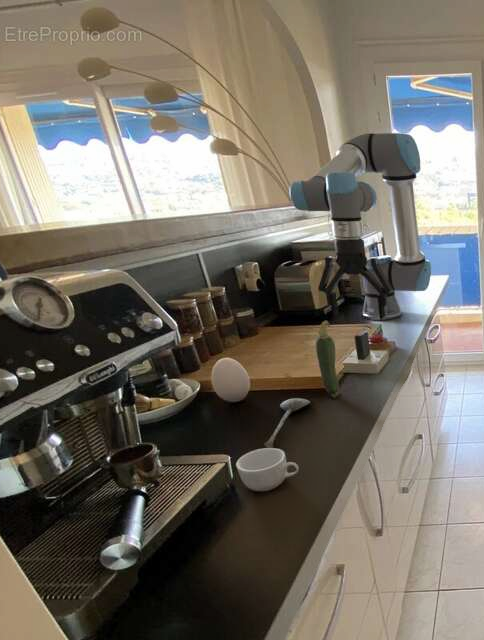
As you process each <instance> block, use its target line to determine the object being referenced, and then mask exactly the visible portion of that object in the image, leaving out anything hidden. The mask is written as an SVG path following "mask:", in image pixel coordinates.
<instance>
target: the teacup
mask: <svg viewBox="0 0 484 640" xmlns="http://www.w3.org/2000/svg"><path fill="white" fill-rule="evenodd" d="M235 466H236V470H237V473H238V474H239V477H240V480H241V481H242V483H243V484H244V486H245V487H246V488H247V489H249V490H251V491H255V492H268V491H270V490H271V491H272V490H274V489H276V488H277V487H279V486H280V485H281V484H282V483H283V482H284V480H285V479H287V478H290V477H293V476H295V475H296V474H298V473H299V471H300V468H299V465H298V464H297V463H296V462H293V461H288V462H287V457H286V453H285V451H284V450H283V449H281V448H276V447H273V448H267V447H265V448H258V449H254V450H251V451H248V452H247V453H244V454H243V455H242V456H241V457H239V458H238V460H237V461H236V463H235ZM290 466H293V467H294V468H295V471H293V472H288V468H289V467H290Z"/></svg>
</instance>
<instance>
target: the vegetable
mask: <svg viewBox="0 0 484 640" xmlns="http://www.w3.org/2000/svg"><path fill="white" fill-rule="evenodd" d="M327 326H328V327H330V323H329V321H328V320H324V321H323V322H321V323H320V326H319V329H318V330H319V331H318V338H317V339H316V342H315V351H316V356H317V361H318V367H319V371H320V376H321V381H322V384H323V387H324V390H325V391H326V392H327V394H329V395H331V397H333V398H334V399H336V397H338V395H339V394H340V384H339V380H338V379H339V378H338V375H337V372H336V344H335V341H334V339H333V337H331V336H329V335H328V334H329V333H328V329H327Z"/></svg>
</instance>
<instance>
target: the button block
mask: <svg viewBox="0 0 484 640" xmlns="http://www.w3.org/2000/svg"><path fill="white" fill-rule="evenodd" d="M369 346H370V350H374V351H388V357H390V355H391V354H392V353H393V352H394V351H395V349H396V348H397V345H396V340H389V339H388V338H387V337H384V336H383V342H379V343H372V342H370V338H369Z"/></svg>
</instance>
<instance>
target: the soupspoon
mask: <svg viewBox="0 0 484 640" xmlns="http://www.w3.org/2000/svg"><path fill="white" fill-rule="evenodd" d="M309 404H311V401H310V400H308V399H305V398H299V397H295V398H289V399H286V400H284V401H282V402H281V403H280V404H279V407H280V408H281V409H282V410H284V411H286V412H285V413H284V414H283V416H282V418H281V419H280V421H279V423H278V425H277V426H276V429H275V430H274V431H273V433H272V434H271V435H270V438H269V439H268V440H267V441H266V442H264V443H263V446H264V447H265V448H274V441H275V439H276V437H277V434H279V431H280V430H281V428H282V427H283V425H284V423H285V422H286V420H287V419H288V417H289V416H290V415H291V413H293V412H295V411H297V410H299V409H302V408H303V407H306V406H307V405H309Z"/></svg>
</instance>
